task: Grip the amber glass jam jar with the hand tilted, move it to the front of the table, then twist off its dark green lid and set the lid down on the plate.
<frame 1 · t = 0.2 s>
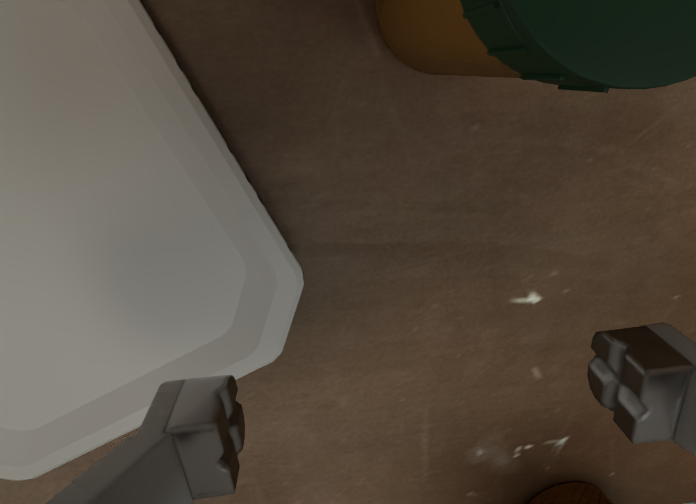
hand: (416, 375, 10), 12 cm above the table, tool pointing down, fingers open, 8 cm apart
plate: (25, 232, 20), on the table
jar: (443, 0, 19), on the table
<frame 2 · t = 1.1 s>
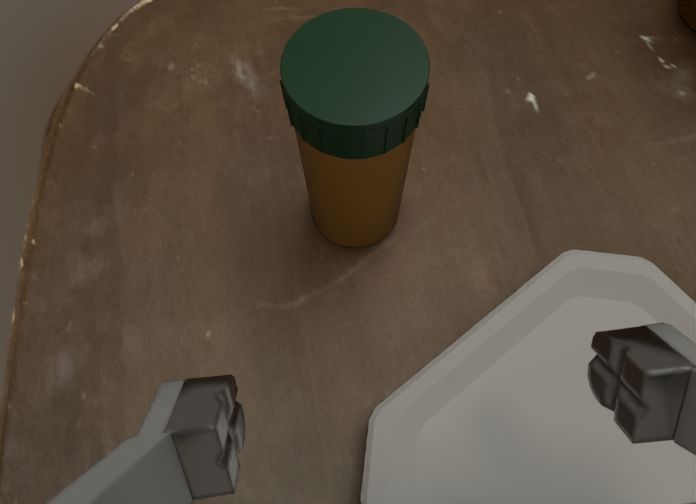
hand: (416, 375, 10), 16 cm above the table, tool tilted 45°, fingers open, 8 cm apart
plate: (602, 490, 24), on the table
lid: (354, 70, 18), point 12 cm above the table, screwed on, not yet turned
jar: (355, 207, 29), on the table
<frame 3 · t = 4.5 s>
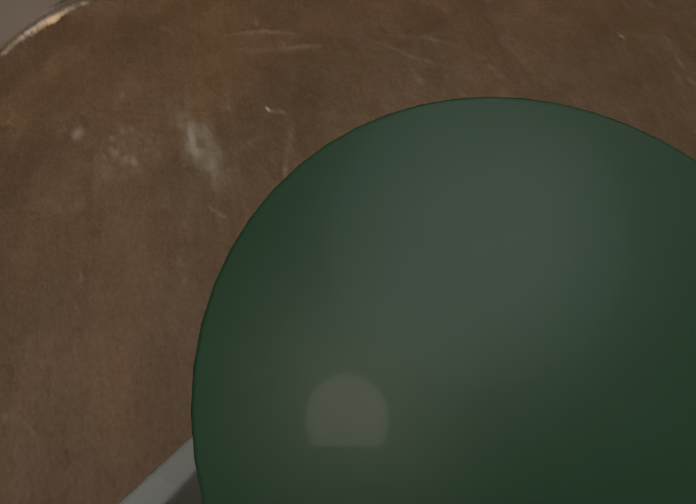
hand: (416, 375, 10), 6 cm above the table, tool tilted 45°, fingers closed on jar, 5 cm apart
lid: (510, 371, 4), point 12 cm above the table, screwed on, not yet turned
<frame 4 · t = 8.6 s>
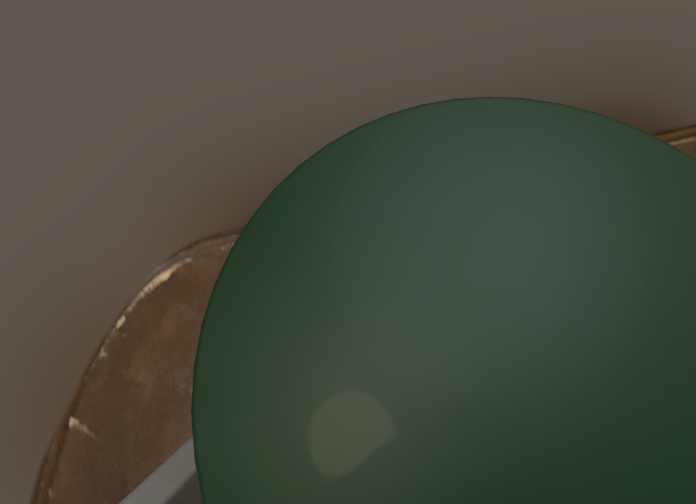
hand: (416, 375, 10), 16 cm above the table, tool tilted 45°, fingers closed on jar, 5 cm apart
lid: (511, 371, 4), point 22 cm above the table, screwed on, not yet turned
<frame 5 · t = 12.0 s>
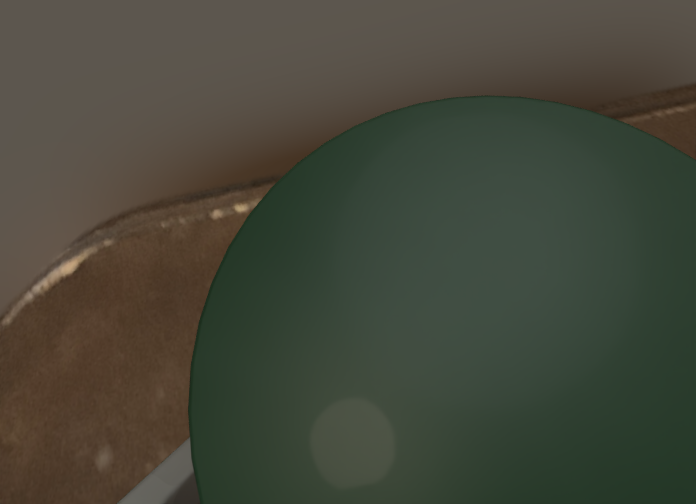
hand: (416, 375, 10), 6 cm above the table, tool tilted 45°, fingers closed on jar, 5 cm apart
lid: (508, 369, 4), point 12 cm above the table, screwed on, not yet turned
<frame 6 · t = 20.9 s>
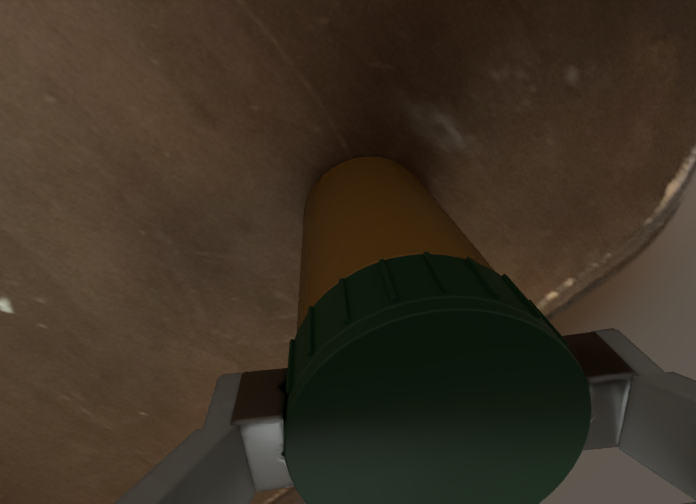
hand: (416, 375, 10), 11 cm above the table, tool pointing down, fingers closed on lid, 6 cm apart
lid: (434, 427, 9), point 12 cm above the table, screwed on, not yet turned, touching gripper
jar: (367, 220, 20), on the table
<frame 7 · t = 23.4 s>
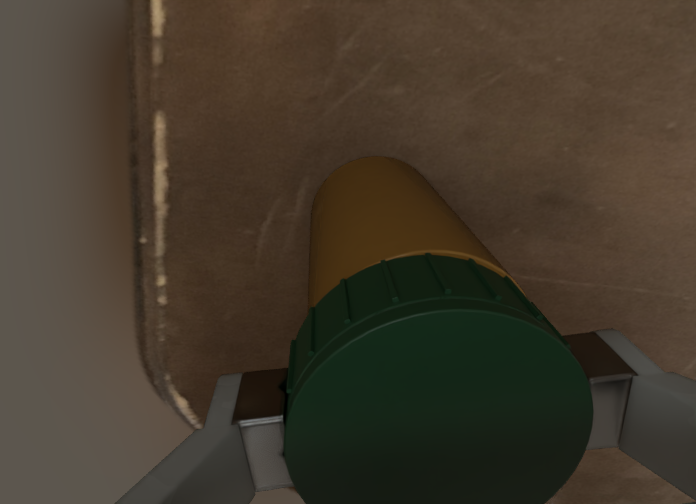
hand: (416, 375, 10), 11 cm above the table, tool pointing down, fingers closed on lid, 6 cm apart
lid: (435, 429, 9), point 12 cm above the table, off its thread, touching gripper
jar: (374, 219, 20), on the table
when the fingers open (2 cm above the table, at t = 31.7 s): lid stays where it is, resting on plate.
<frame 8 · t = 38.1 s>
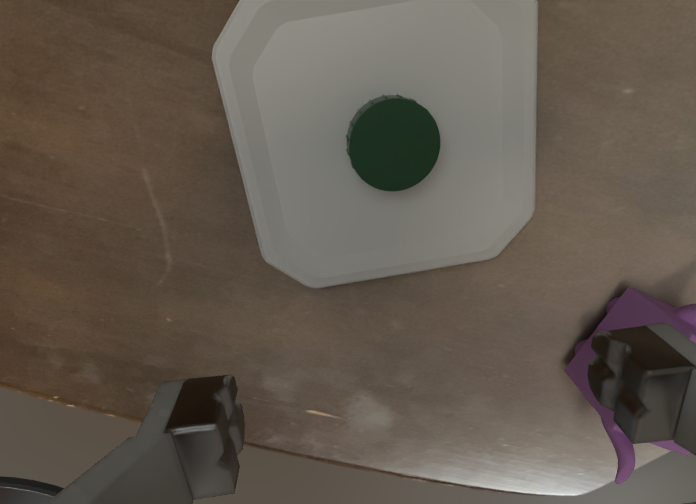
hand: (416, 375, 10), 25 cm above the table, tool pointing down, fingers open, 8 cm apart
plate: (383, 135, 33), on the table, touching lid
lid: (393, 145, 29), point 4 cm above the table, off its thread, touching plate
teapot: (625, 337, 42), on the table
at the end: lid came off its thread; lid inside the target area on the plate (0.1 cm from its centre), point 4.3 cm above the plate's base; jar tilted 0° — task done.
